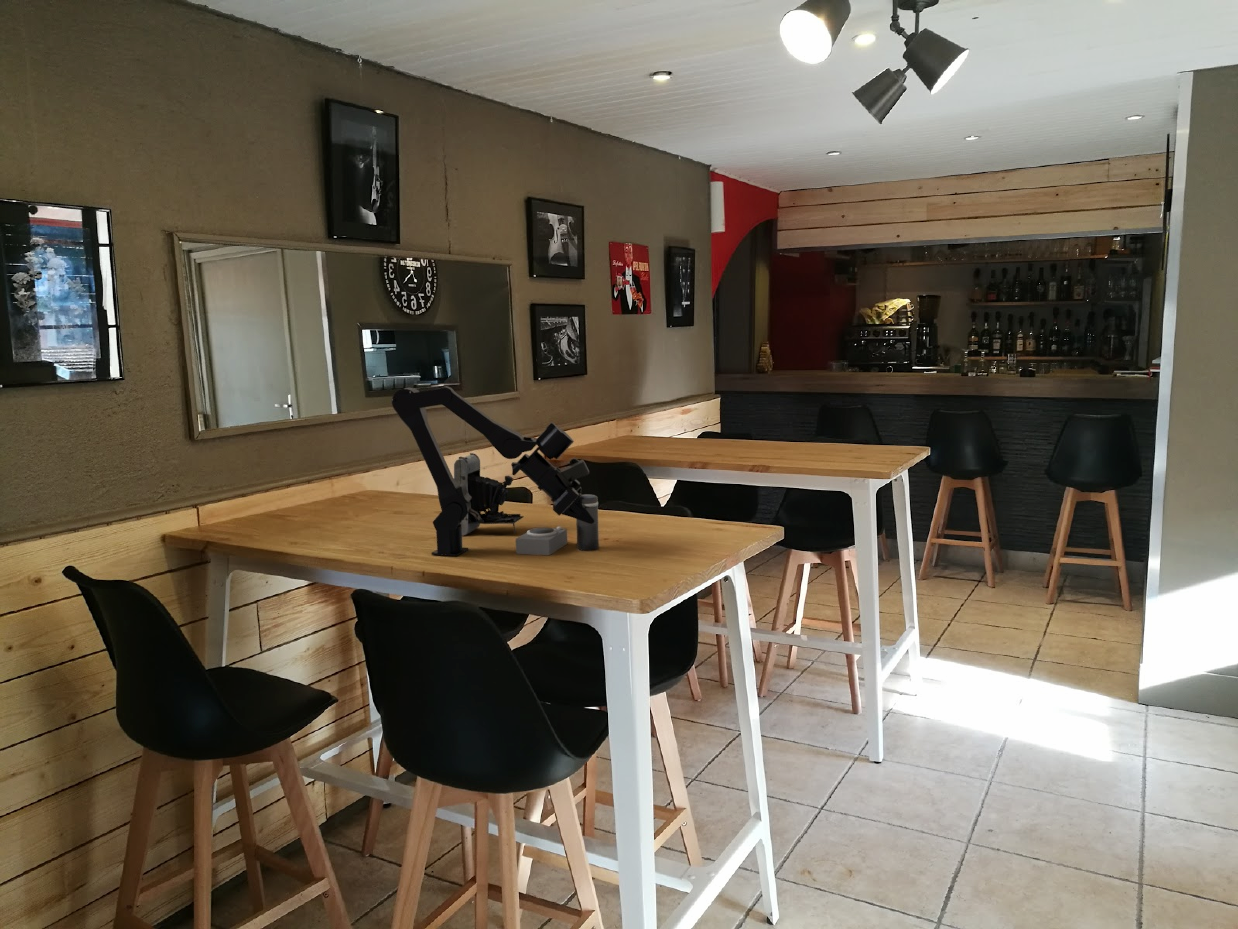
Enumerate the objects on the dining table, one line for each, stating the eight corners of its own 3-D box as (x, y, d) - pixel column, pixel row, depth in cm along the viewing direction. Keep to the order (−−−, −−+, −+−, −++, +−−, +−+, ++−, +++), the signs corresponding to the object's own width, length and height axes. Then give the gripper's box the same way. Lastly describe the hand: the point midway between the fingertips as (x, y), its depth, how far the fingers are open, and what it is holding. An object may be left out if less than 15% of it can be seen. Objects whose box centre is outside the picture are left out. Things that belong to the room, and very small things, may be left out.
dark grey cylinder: (595, 551, 202) (593, 498, 200) (573, 550, 203) (572, 497, 202) (602, 546, 207) (600, 494, 205) (580, 545, 208) (579, 493, 207)
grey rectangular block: (549, 555, 199) (548, 536, 199) (516, 553, 202) (515, 534, 201) (567, 543, 211) (566, 525, 210) (535, 542, 213) (535, 524, 212)
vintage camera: (513, 539, 219) (513, 459, 216) (453, 536, 222) (452, 456, 219) (524, 531, 228) (524, 454, 226) (467, 528, 231) (467, 452, 228)
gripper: (566, 453, 193) (618, 502, 194) (568, 443, 211) (616, 488, 213) (531, 490, 193) (583, 538, 195) (536, 477, 212) (584, 521, 214)
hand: (593, 520), depth 204 cm, fingers closed on dark grey cylinder, 5 cm apart
